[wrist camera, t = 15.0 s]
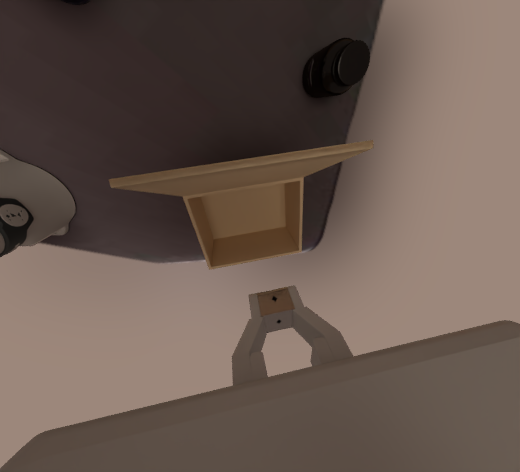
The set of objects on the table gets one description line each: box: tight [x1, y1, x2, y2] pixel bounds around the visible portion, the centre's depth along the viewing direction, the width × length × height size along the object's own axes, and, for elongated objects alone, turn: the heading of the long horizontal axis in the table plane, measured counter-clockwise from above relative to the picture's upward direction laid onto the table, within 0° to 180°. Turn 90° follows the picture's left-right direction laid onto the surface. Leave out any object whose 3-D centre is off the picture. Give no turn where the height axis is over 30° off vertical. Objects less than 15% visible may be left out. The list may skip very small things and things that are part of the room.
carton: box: [183, 177, 304, 269], centre depth 43 cm, size 22×18×12 cm
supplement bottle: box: [303, 38, 370, 98], centre depth 31 cm, size 7×7×12 cm
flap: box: [109, 140, 373, 196], centre depth 24 cm, size 22×18×1 cm
